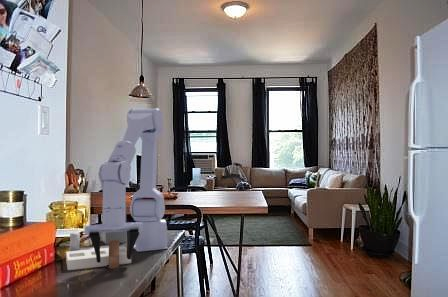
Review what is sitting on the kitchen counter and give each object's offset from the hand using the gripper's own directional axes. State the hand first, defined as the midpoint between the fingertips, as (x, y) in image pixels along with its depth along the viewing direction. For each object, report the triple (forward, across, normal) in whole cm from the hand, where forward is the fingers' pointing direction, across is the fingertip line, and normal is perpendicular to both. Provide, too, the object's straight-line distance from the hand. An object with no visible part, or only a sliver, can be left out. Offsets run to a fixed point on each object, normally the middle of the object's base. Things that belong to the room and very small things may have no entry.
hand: (113, 260), depth 100 cm
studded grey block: (+2, -3, +17) cm, 17 cm away
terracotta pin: (+2, 0, 0) cm, 2 cm away
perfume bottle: (+2, +5, +32) cm, 33 cm away
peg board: (+2, -3, +8) cm, 8 cm away
